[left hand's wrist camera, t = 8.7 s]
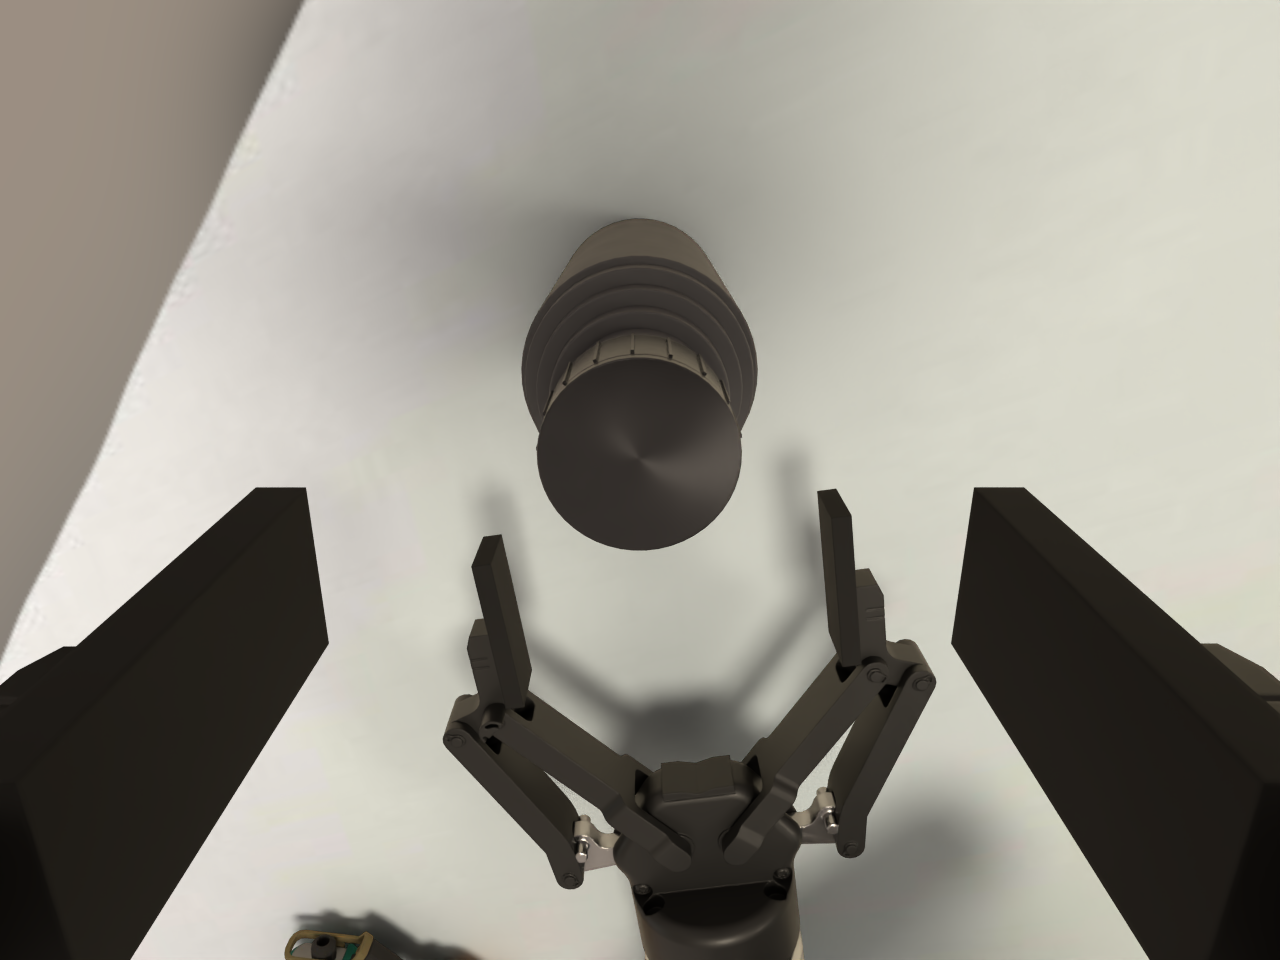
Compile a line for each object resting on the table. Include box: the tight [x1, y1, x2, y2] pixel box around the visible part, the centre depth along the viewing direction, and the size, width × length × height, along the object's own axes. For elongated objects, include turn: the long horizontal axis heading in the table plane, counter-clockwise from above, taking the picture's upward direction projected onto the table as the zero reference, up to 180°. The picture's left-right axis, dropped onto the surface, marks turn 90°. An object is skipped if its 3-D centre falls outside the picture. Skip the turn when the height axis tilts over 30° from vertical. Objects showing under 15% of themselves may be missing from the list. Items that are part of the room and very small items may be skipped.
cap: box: [536, 333, 742, 550], centre depth 19 cm, size 4×4×2 cm
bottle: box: [522, 219, 758, 433], centre depth 28 cm, size 7×7×20 cm
